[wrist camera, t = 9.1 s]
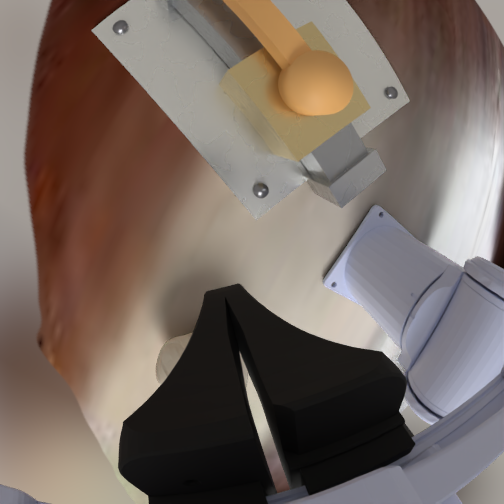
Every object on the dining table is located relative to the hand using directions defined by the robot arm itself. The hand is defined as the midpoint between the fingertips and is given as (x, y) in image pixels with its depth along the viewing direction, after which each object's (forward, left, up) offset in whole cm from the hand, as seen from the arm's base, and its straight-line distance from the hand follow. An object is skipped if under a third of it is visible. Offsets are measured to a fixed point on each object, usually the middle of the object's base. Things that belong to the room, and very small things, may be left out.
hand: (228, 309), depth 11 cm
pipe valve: (+3, -11, -10) cm, 15 cm away
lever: (+5, -12, -5) cm, 14 cm away
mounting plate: (+3, -13, -10) cm, 17 cm away
